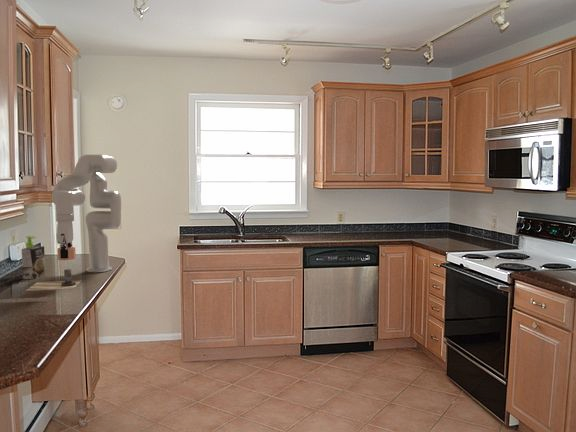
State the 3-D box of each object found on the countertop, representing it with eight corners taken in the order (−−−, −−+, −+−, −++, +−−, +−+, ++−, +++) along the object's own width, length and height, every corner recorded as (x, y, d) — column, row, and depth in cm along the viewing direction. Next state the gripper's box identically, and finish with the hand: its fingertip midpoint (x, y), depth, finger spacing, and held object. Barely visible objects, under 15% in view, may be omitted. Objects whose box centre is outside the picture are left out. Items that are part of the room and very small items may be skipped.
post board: (37, 285, 248) (36, 267, 247) (81, 283, 251) (81, 266, 250) (25, 293, 232) (24, 274, 231) (73, 292, 235) (72, 273, 234)
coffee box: (34, 282, 254) (32, 249, 252) (22, 281, 255) (20, 248, 253) (46, 278, 263) (44, 246, 261) (35, 277, 264) (33, 245, 262)
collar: (61, 257, 243) (60, 247, 243) (76, 257, 244) (76, 246, 244) (56, 260, 237) (56, 249, 236) (72, 260, 237) (72, 249, 237)
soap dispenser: (30, 276, 266) (28, 237, 264) (22, 275, 269) (20, 236, 267) (41, 274, 271) (39, 235, 268) (33, 272, 274) (31, 234, 272)
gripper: (61, 216, 247) (63, 253, 248) (50, 220, 229) (52, 260, 231) (78, 216, 248) (80, 253, 249) (68, 219, 231) (70, 259, 232)
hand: (66, 256), depth 240 cm, fingers closed on collar, 7 cm apart
